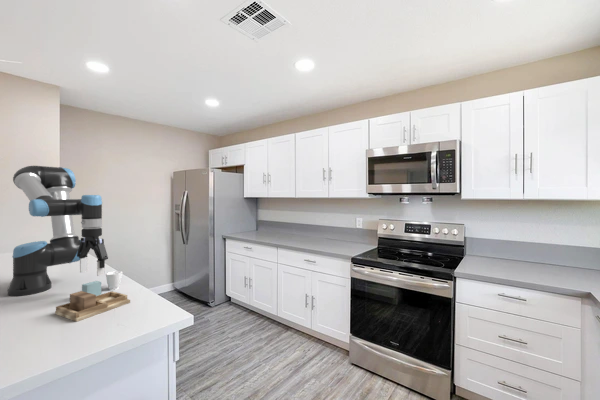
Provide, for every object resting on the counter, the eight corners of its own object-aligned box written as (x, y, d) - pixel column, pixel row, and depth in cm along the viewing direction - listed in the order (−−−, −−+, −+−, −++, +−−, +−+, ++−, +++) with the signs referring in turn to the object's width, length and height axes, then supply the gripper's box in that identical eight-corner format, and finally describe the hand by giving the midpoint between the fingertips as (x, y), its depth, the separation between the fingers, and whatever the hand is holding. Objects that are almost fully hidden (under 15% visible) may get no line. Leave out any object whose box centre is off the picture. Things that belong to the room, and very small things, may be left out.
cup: (106, 292, 130) (106, 275, 129) (104, 286, 137) (104, 271, 137) (123, 289, 134) (123, 273, 134) (120, 284, 142) (120, 268, 142)
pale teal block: (81, 297, 123) (81, 284, 123) (96, 293, 128) (96, 280, 128) (86, 298, 121) (87, 285, 121) (101, 294, 127) (101, 281, 127)
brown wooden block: (69, 309, 107) (69, 294, 107) (81, 305, 111) (81, 291, 111) (84, 313, 103) (84, 298, 103) (95, 309, 107) (95, 294, 107)
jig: (55, 314, 105) (55, 306, 105) (109, 297, 123) (109, 290, 123) (76, 321, 99) (76, 313, 99) (130, 302, 117) (130, 295, 117)
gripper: (67, 227, 126) (67, 272, 126) (99, 229, 116) (99, 278, 116) (85, 226, 133) (85, 268, 133) (116, 228, 123) (117, 274, 123)
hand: (92, 273), depth 124 cm, fingers open, 13 cm apart
